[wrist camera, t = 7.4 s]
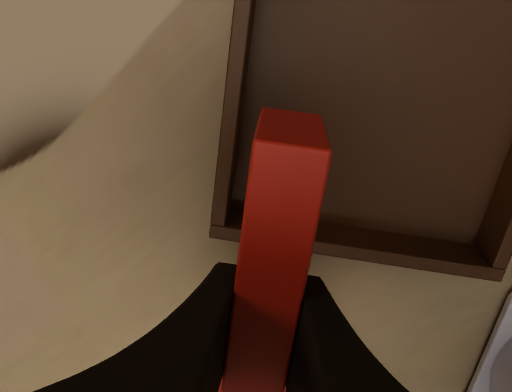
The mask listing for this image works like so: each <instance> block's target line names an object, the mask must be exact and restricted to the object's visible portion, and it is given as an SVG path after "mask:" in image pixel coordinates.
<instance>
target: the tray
mask: <svg viewBox="0 0 512 392" xmlns="http://www.w3.org/2000/svg"><path fill="white" fill-rule="evenodd" d="M263 107H268V108H275V109H283V110H290V111H297V112H304V113H311V114H318V115H321V116H322V119H323V123H324V126H325V129H326V133H327V136H328V140H329V143H330V146H331V150H332V157H331V162H330V167H329V172H328V177H327V182H326V187H325V192H324V197H323V202H322V207H321V212H320V217H319V222H318V227H317V232H316V237H315V241H314V246H313V251H312V253H314V254H321V255H327V256H334V257H340V258H347V259H353V260H360V261H366V262H373V263H380V264H386V265H393V266H399V267H406V268H412V269H419V270H425V271H432V272H439V273H445V274H452V275H458V276H465V277H471V278H478V279H484V280H491V281H498V282H501V281H502V278H503V276H504V274H505V269H506V268H507V266H508V263H509V261H510V259H511V256H512V0H234V8H233V18H232V27H231V36H230V46H229V55H228V64H227V74H226V83H225V93H224V102H223V111H222V121H221V130H220V139H219V149H218V158H217V167H216V177H215V186H214V195H213V205H212V214H211V225H210V232H209V237H210V238H216V239H222V240H229V241H235V242H240V236H241V228H242V221H243V213H244V205H245V197H246V189H247V181H248V173H249V165H250V158H251V150H252V142H253V138H254V135H255V131H256V127H257V123H258V120H259V116H260V112H261V109H262V108H263Z"/></svg>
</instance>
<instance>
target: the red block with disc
mask: <svg viewBox="0 0 512 392" xmlns="http://www.w3.org/2000/svg"><path fill="white" fill-rule="evenodd" d="M331 157H332V150H331V146H330V143H329V140H328V136H327V133H326V129H325V126H324V123H323V119H322V116H321V115H318V114H311V113H304V112H297V111H290V110H283V109H275V108H268V107H263V108H262V109H261V112H260V116H259V120H258V123H257V127H256V131H255V135H254V138H253V142H252V150H251V158H250V165H249V173H248V181H247V189H246V197H245V205H244V213H243V221H242V228H241V236H240V244H239V252H238V260H237V268H236V276H235V284H234V291H233V299H232V307H231V315H230V323H229V331H228V339H227V347H226V354H225V362H224V370H223V376H222V380H221V384H220V387H219V391H218V392H286V380H287V375H288V370H289V365H290V361H291V356H292V351H293V346H294V341H295V336H296V331H297V326H298V321H299V316H300V311H301V306H302V301H303V296H304V291H305V286H306V281H307V276H308V271H309V266H310V261H311V256H312V251H313V246H314V241H315V237H316V232H317V227H318V222H319V217H320V212H321V207H322V202H323V197H324V192H325V187H326V182H327V177H328V172H329V167H330V162H331Z"/></svg>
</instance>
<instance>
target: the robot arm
mask: <svg viewBox="0 0 512 392" xmlns="http://www.w3.org/2000/svg"><path fill="white" fill-rule="evenodd" d="M236 268H237V265H235V264H228V263H222V262H219V263H217V264H216V265H214V267H213V269H212V270H211V271H210V273H209V274H208V275H207V277H206V278H205V279H204V280H203V281H202V283H201V284H200V285H199V286H198V287H197V288H196V289H195V290H194V292H193V293H192V294H191V295H190V296H189V297H188V298H187V299H186V300H185V301H184V302H183V303H182V304H181V305H180V306H179V307H178V308H177V309H175V310H174V311H173V312H172V313H171V314H170V315H169V316H168V317H167V318H166V319H164V320H163V321H162V322H161V323H160V324H158V325H157V326H156V327H155V328H153V329H152V330H151V331H149V332H148V333H147V334H145V335H144V336H143V337H141V338H140V339H138V340H137V341H135V342H134V343H132V344H131V345H129V346H128V347H126V348H125V349H123V350H122V351H120V352H118V353H117V354H115V355H113V356H112V357H110V358H108V359H106V360H104V361H102V362H100V363H99V364H97V365H95V366H93V367H90V368H88V369H86V370H84V371H82V372H80V373H78V374H76V375H73V376H71V377H69V378H66V379H64V380H61V381H59V382H56V383H54V384H51V385H49V386H46V387H44V388H41V389H39V390H36V391H33V392H218V391H219V387H220V384H221V380H222V376H223V370H224V362H225V354H226V347H227V339H228V331H229V323H230V315H231V307H232V299H233V291H234V284H235V276H236ZM286 392H409V391H408V390H407V389H406V388H405V387H404V386H402V385H401V384H400V383H399V382H398V381H397V380H396V379H395V378H394V377H393V376H392V375H391V374H390V373H389V372H388V370H387V369H386V368H385V367H384V366H383V365H382V364H381V363H380V362H379V361H378V360H377V359H376V358H375V356H374V355H373V354H372V353H371V352H370V351H369V350H368V348H367V347H366V346H365V344H364V343H363V342H362V341H361V339H360V338H359V337H358V335H357V334H356V333H355V331H354V330H353V328H352V327H351V326H350V324H349V323H348V321H347V320H346V318H345V317H344V315H343V314H342V312H341V311H340V309H339V308H338V306H337V304H336V303H335V301H334V299H333V298H332V296H331V294H330V293H329V291H328V289H327V287H326V286H325V284H324V282H323V281H322V279H321V278H320V277H318V276H311V275H308V276H307V281H306V286H305V291H304V296H303V301H302V306H301V311H300V316H299V321H298V326H297V331H296V336H295V341H294V346H293V351H292V356H291V361H290V365H289V370H288V375H287V380H286ZM467 392H512V292H511V293H510V294H509V295H508V297H507V299H506V302H505V304H504V306H503V309H502V311H501V313H500V316H499V318H498V320H497V323H496V325H495V327H494V330H493V332H492V334H491V336H490V339H489V341H488V343H487V346H486V348H485V350H484V353H483V355H482V357H481V360H480V362H479V364H478V367H477V369H476V371H475V374H474V376H473V378H472V381H471V383H470V385H469V388H468V390H467Z"/></svg>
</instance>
